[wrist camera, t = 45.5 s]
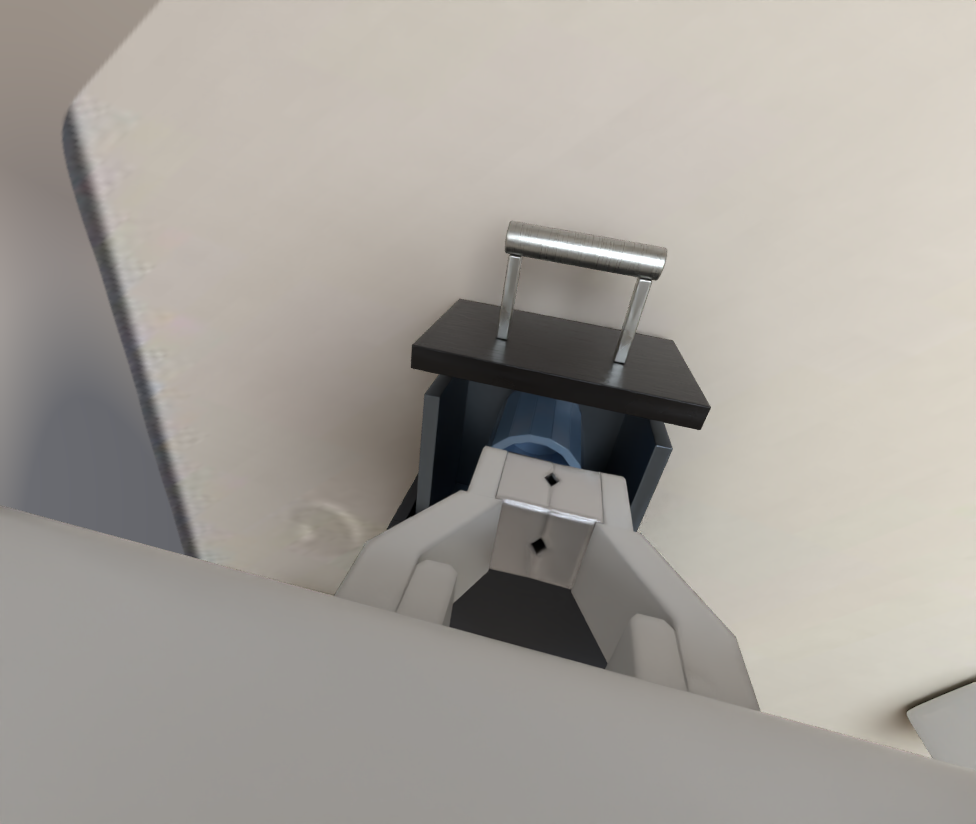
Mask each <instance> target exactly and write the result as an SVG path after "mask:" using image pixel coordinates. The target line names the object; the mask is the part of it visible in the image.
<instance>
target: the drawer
mask: <svg viewBox="0 0 976 824" xmlns="http://www.w3.org/2000/svg"><path fill="white" fill-rule="evenodd" d="M505 252H506V253H508V254H510V255H509V258H508V265H507V271H506V277H505V284H504V290H503V296H502V303H501V307H499V306H494V305H488V304H483V303H478V302H473V301H468V300H463V299H459V300H458V301H457V302H456V303H455V304H454V305H453V306H452V307H451V308H450V309H449V310H448V311H447V312H446V313H445V314H444V315H443V316H442V317H441V318H439V319H438V320H437V321H436V322H435V323H434V324H433V325H432V326H431V327H430V328H429V329H428V330H427V331H426V332H425V333H424V334H423V335H422V336H421V337H420V338H419V339H418V340H417V341H416V342H415V343H414V344H413V345H412V356H411V368H413V369H417V370H422V371H427V372H431V373H436V374H439V375H438V377H437V378H436V379H435V381H434V382H433V383H432V385H431V386H430V388H429V389H428V390H427V392H426V393H425V394H424V407H423V421H422V434H421V448H420V461H419V474H418V488H417V501H416V514H418V513H419V512H421V511H423V510H425V509H427V508H429V507H430V506H432V505H434V504H436V503H438V502H440V501H441V500H443V499H445V498H447V497H449V496H451V495H453V494H454V493H456V492H458V491H460V490H462V491H468V488H469V485H470V483H471V480H472V477H473V475H474V472H475V469H476V466H477V464H478V461H479V458H480V455H481V453H482V450H483V448H484V447H485V446H487V444H488V441H489V438H490V436H491V433H492V430H493V427H494V425H495V422H496V419H497V416H498V413H499V411H500V409H501V407H502V405H503V403H504V401H505V400H506V398H507V397H508V396H509V395H510V394H511V393H512V392H514V391H520V392H525V393H529V394H534V395H539V396H543V397H548V398H553V399H557V400H562V401H567V402H571V403H576V404H578V406H579V408H580V410H581V413H582V419H583V444H584V469H585V470H590V471H594V472H602V473H607V474H612V475H617V476H622V477H624V478H625V480H626V485H627V492H628V498H629V505H630V511H631V518H632V524H633V531H634V532H637V530H638V528H639V525H640V523H641V521H642V518H643V516H644V514H645V512H646V509H647V507H648V505H649V502H650V500H651V498H652V495H653V493H654V491H655V489H656V486H657V484H658V482H659V479H660V477H661V475H662V472H663V470H664V468H665V466H666V463H667V461H668V459H669V456H670V454H671V452H672V450H673V448H672V445H671V442H670V439H669V436H668V433H667V430H666V427H665V424H664V423H669V424H674V425H678V426H683V427H688V428H692V429H697V430H701V428H702V426H703V423H704V421H705V419H706V417H707V415H708V413H709V410H710V408H711V407H710V405H709V403H708V401H707V400H706V398H705V396H704V394H703V392H702V391H701V389H700V387H699V385H698V384H697V382H696V380H695V378H694V377H693V375H692V373H691V371H690V369H689V368H688V366H687V364H686V362H685V361H684V359H683V357H682V355H681V354H680V352H679V350H678V348H677V346H676V345H675V343H674V341H673V340H667V339H662V338H657V337H652V336H647V335H642V334H637V333H636V330H637V327H638V324H639V320H640V317H641V314H642V311H643V308H644V305H645V302H646V299H647V296H648V293H649V290H650V287H651V284H652V280H658V279H659V277H660V275H661V273H662V271H663V268H664V265H665V262H666V257H667V249H666V248H664V247H658V246H653V245H647V244H641V243H635V242H630V241H624V240H618V239H612V238H607V237H601V236H595V235H590V234H584V233H578V232H572V231H567V230H561V229H555V228H550V227H544V226H538V225H532V224H527V223H521V222H515V221H511V222H510V224H509V227H508V231H507V235H506V242H505ZM523 256H524V257H530V258H535V259H540V260H546V261H551V262H557V263H562V264H568V265H573V266H579V267H584V268H590V269H595V270H601V271H606V272H612V273H617V274H623V275H628V276H634V277H638V278H637V281H636V284H635V287H634V291H633V294H632V297H631V300H630V304H629V307H628V310H627V313H626V317H625V320H624V323H623V326H622V330H616V329H611V328H606V327H601V326H596V325H591V324H586V323H581V322H575V321H570V320H565V319H560V318H555V317H550V316H545V315H540V314H534V313H529V312H524V311H519V310H514V304H515V298H516V292H517V287H518V281H519V275H520V269H521V263H522V258H523Z"/></svg>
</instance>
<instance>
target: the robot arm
mask: <svg viewBox="0 0 976 824" xmlns="http://www.w3.org/2000/svg"><path fill="white" fill-rule="evenodd" d="M507 453H508V454H507ZM489 569H493V570H498V571H502V572H506V573H511V574H515V575H520V576H524V577H529V578H532V579H536V580H539V581H543V582H546V583H550V584H553V585H557V586H560V587H564V588H568V589H571V593H572V594H573V596H574V598H575V600H576V602H577V604H578V606H579V608H580V610H581V612H582V614H583V616H584V618H585V620H586V622H587V624H588V626H589V628H590V630H591V632H592V634H593V636H594V638H595V640H596V642H597V643H598V645H599V647H600V649H601V651H602V653H603V655H604V657H605V659H606V661H607V663H608V664H607V666H606V668H605V669H602V668H598V667H595V666H591V665H587V664H584V663H580V662H576V661H572V660H569V659H565V658H561V657H558V656H554V655H550V654H547V653H543V652H539V651H536V650H532V649H528V648H525V647H521V646H517V645H514V644H510V643H506V642H503V641H499V640H495V639H491V638H488V637H484V636H480V635H477V634H473V633H469V632H466V631H462V630H458V629H455V628H451V627H449V625H450V619H451V613H452V606H453V603H454V602H455V601H456V600H458V599H459V598H460V597H461V596H462V595H463V594H464V593H465V592H466V591H467V590H468V589H469V588H470V587H472V586H473V585H474V584H475V583H476V582H477V581H478V580H479V579H480V578H481V577H482V576H483V575H484V574H486V573H487V572H488V570H489ZM0 824H976V770H974V769H970V768H967V767H963V766H959V765H955V764H952V763H948V762H944V761H941V760H937V759H933V758H930V757H926V756H922V755H919V754H915V753H911V752H908V751H904V750H900V749H897V748H893V747H889V746H886V745H882V744H878V743H874V742H871V741H867V740H863V739H860V738H856V737H852V736H849V735H845V734H841V733H838V732H834V731H830V730H827V729H823V728H819V727H816V726H812V725H808V724H804V723H801V722H797V721H793V720H790V719H786V718H782V717H779V716H775V715H771V714H768V713H764V712H761V711H760V708H759V705H758V702H757V699H756V696H755V693H754V690H753V687H752V684H751V681H750V678H749V675H748V672H747V669H746V666H745V663H744V660H743V657H742V654H741V651H740V648H739V645H738V642H737V639H736V637H735V635H734V634H733V633H732V632H731V631H730V630H729V629H728V628H727V627H726V626H725V625H724V623H723V622H722V621H721V620H720V619H719V618H718V617H717V616H716V615H715V614H714V613H713V611H712V610H711V609H710V608H709V607H708V606H707V605H706V604H705V603H704V602H703V600H702V599H701V598H700V597H699V596H698V595H697V594H696V593H695V592H694V591H693V590H692V588H691V587H690V586H689V585H688V584H687V583H686V582H685V581H684V580H683V579H682V578H681V576H680V575H679V574H678V573H677V572H676V571H675V570H674V569H673V568H672V567H671V566H670V564H669V563H668V562H667V561H666V560H665V559H664V558H663V557H662V556H661V555H660V553H659V552H658V551H657V550H656V549H655V548H654V547H653V546H652V545H651V544H650V543H649V541H648V540H647V539H646V538H645V537H644V536H643V535H642V534H641V533H638V532H634V531H633V524H632V518H631V511H630V505H629V498H628V492H627V485H626V480H625V478H624V477H622V476H617V475H612V474H607V473H602V472H594V471H590V470H585V469H580V468H576V467H571V466H566V465H561V464H557V463H553V462H551V461H546V460H542V459H538V458H534V457H530V456H526V455H522V454H518V453H514V452H510V451H508V452H507V450H502V449H498V448H493V447H489V446H485V447H484V448H483V450H482V453H481V455H480V458H479V461H478V464H477V466H476V469H475V472H474V475H473V477H472V480H471V483H470V485H469V488H468V491H462V490H460V491H458V492H456V493H454V494H453V495H451V496H449V497H447V498H445V499H443V500H441V501H440V502H438V503H436V504H434V505H432V506H430V507H429V508H427V509H425V510H423V511H421V512H419V513H418V514H416V515H414V516H412V517H410V518H408V519H407V520H405V521H403V522H401V523H399V524H397V525H395V526H394V527H392V528H390V529H388V530H386V531H384V532H383V533H381V534H379V535H377V536H375V537H373V538H372V539H370V540H368V541H366V543H365V545H364V546H363V548H362V550H361V551H360V553H359V555H358V556H357V558H356V560H355V561H354V563H353V565H352V566H351V568H350V570H349V571H348V573H347V575H346V576H345V578H344V580H343V581H342V583H341V585H340V586H339V588H338V590H337V591H336V593H335V595H334V596H333V595H329V594H325V593H322V592H318V591H314V590H311V589H307V588H303V587H300V586H296V585H292V584H289V583H285V582H281V581H277V580H274V579H270V578H266V577H263V576H259V575H255V574H252V573H248V572H244V571H241V570H237V569H233V568H230V567H226V566H222V565H219V564H215V563H211V562H208V561H204V560H200V559H196V558H193V557H189V556H185V555H182V554H178V553H174V552H171V551H167V550H163V549H159V548H156V547H152V546H148V545H145V544H141V543H138V542H134V541H130V540H126V539H123V538H119V537H115V536H112V535H108V534H104V533H100V532H97V531H93V530H90V529H86V528H82V527H78V526H75V525H71V524H68V523H64V522H60V521H56V520H53V519H49V518H45V517H42V516H38V515H34V514H31V513H27V512H23V511H20V510H16V509H12V508H9V507H5V506H1V505H0Z"/></svg>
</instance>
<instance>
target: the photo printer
mask: <svg viewBox="0 0 976 824" xmlns="http://www.w3.org/2000/svg"><path fill="white" fill-rule="evenodd" d="M907 717H908V719H909V721H910V722H911V724H912V726H913V727H914V729H915V731H916V732H917V734H918V736H919V737H920V739H921V740H922V742H923V744H924V745H925V747H926V749H927V750H928V752H929V753H930V755H931V757H932V758H933V759H937V760H941V761H944V762H948V763H952V764H955V765H959V766H963V767H967V768H970V769H974V770H976V682H973V683H971V684H968V685H966V686H963V687H961V688H958V689H956V690H954V691H951V692H949V693H946V694H944V695H941V696H939V697H937V698H934V699H932V700H930V701H927V702H925V703H923V704H920V705H918V706H916V707H914V708H912V709H910V710H909V711H907Z"/></svg>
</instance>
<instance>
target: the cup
mask: <svg viewBox="0 0 976 824" xmlns="http://www.w3.org/2000/svg"><path fill="white" fill-rule="evenodd" d="M487 446H489V447H493V448H498V449H502V450H507V452H508V451H510V452H514V453H518V454H522V455H526V456H530V457H534V458H538V459H542V460H546V461H551V462H553V463H557V464H561V465H566V466H571V467H576V468H580V469H584V444H583V419H582V413H581V410H580V408H579V406H578V404H576V403H571V402H567V401H562V400H557V399H553V398H548V397H543V396H539V395H534V394H529V393H525V392H520V391H514V392H512V393H511V394H510V395H509V396H508V397H507V398H506V400H505V401H504V403H503V405H502V407H501V409H500V411H499V413H498V416H497V419H496V422H495V425H494V427H493V430H492V433H491V436H490V438H489V441H488V444H487ZM507 454H508V453H507Z"/></svg>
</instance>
